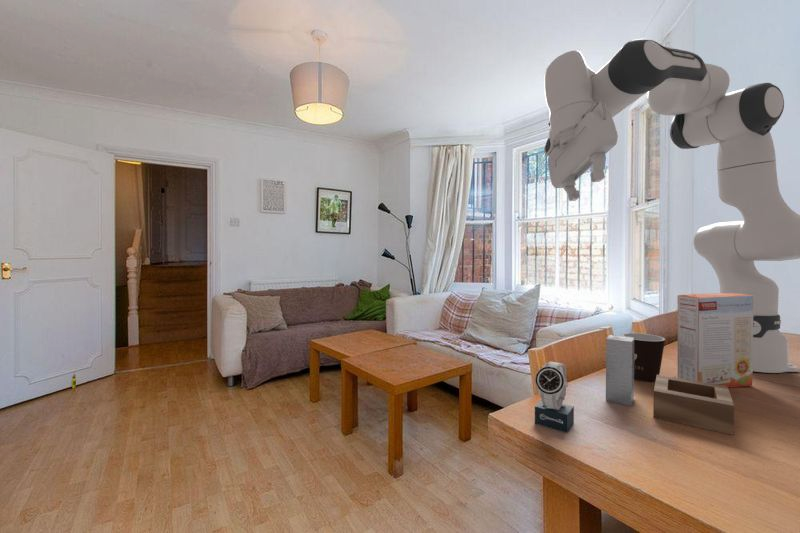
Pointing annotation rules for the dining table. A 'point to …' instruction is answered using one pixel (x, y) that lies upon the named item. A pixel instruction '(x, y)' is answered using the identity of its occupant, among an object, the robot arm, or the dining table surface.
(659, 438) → the dining table surface
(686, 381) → the well block
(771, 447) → the dining table surface
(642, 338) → the coffee mug
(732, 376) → the cracker box
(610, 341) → the grey brushed metal pillar
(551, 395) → the watch
